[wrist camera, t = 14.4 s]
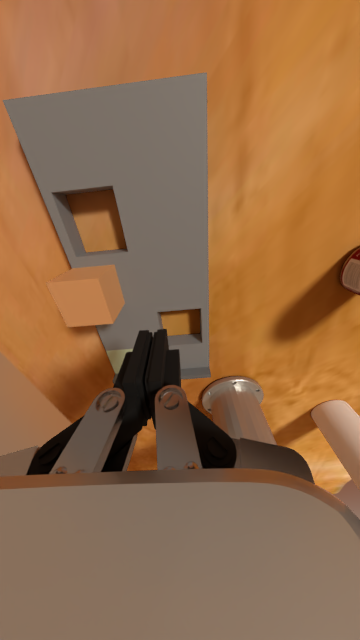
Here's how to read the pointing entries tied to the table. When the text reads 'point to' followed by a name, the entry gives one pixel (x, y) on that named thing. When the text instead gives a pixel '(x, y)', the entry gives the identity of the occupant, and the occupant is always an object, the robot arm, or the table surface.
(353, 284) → the soda can
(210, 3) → the table surface
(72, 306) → the block
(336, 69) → the table surface
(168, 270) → the plate
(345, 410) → the bottle
